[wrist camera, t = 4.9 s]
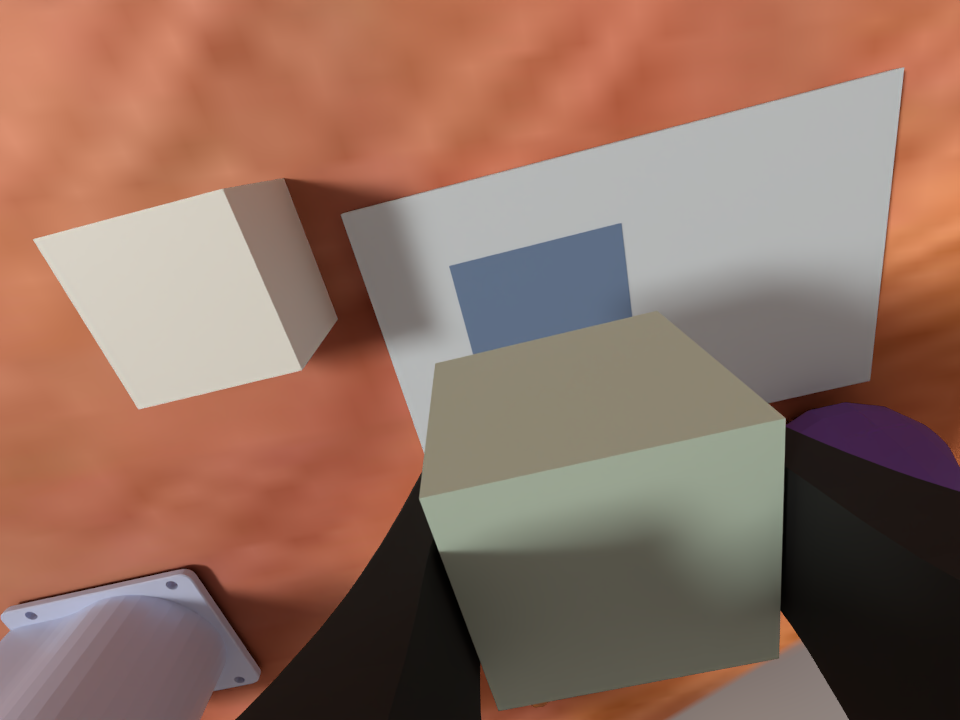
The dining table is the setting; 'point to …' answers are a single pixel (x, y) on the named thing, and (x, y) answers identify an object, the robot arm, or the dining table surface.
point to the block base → (606, 510)
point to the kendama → (880, 442)
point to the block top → (197, 291)
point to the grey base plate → (657, 245)
